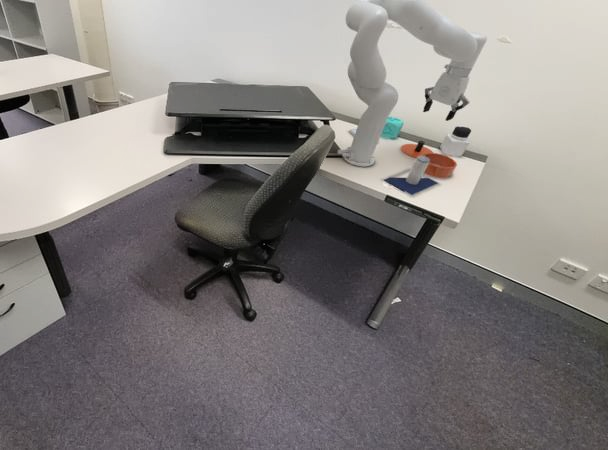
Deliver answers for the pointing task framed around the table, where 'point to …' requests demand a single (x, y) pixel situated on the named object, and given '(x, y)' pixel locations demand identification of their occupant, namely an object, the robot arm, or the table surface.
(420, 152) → the pot lid
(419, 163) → the salt shaker
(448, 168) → the pot
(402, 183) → the towel
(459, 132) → the medicine bottle
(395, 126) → the decorative dice
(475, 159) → the table surface
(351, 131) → the hard drive
